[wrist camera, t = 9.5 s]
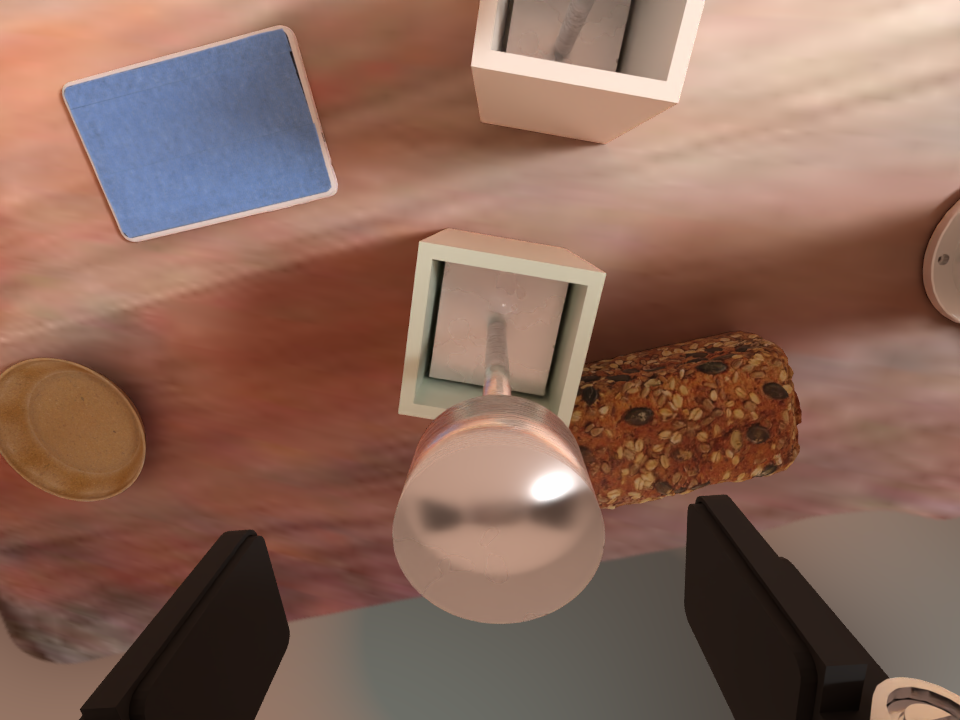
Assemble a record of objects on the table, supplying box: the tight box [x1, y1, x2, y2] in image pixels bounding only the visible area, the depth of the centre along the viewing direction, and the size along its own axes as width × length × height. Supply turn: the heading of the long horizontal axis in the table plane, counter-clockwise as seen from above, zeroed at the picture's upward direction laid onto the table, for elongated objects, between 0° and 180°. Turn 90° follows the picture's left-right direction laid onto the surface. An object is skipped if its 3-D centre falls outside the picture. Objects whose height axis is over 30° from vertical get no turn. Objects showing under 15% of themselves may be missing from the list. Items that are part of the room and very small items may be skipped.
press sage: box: [398, 228, 606, 428], centre depth 34 cm, size 10×10×16 cm
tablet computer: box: [62, 25, 338, 242], centre depth 39 cm, size 19×13×1 cm, turn 102°
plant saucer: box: [0, 358, 146, 502], centre depth 46 cm, size 15×15×3 cm
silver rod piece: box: [392, 261, 605, 624], centre depth 21 cm, size 8×8×21 cm
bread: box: [569, 331, 802, 509], centre depth 40 cm, size 19×11×10 cm, turn 103°
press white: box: [471, 0, 705, 144], centre depth 29 cm, size 10×10×16 cm
